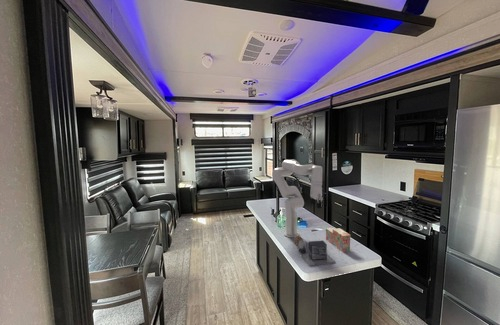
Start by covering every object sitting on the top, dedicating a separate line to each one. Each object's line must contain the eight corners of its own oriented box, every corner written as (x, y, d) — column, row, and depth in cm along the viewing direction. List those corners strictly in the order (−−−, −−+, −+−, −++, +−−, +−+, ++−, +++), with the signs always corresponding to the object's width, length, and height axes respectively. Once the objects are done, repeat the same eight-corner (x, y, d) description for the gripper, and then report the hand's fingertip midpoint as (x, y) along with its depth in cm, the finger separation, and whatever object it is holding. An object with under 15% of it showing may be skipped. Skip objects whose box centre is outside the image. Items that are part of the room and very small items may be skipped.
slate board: (301, 255, 151) (301, 254, 151) (325, 252, 154) (325, 251, 154) (309, 266, 138) (309, 264, 138) (335, 262, 142) (335, 261, 141)
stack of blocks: (325, 239, 176) (325, 224, 174) (332, 238, 177) (332, 223, 176) (342, 252, 155) (342, 235, 154) (350, 251, 156) (350, 234, 155)
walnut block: (294, 243, 170) (294, 237, 170) (300, 242, 171) (300, 236, 171) (296, 246, 165) (296, 240, 165) (303, 245, 166) (303, 239, 166)
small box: (323, 254, 150) (323, 239, 149) (327, 259, 144) (327, 244, 143) (308, 255, 150) (308, 240, 149) (311, 260, 143) (311, 245, 142)
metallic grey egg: (297, 251, 157) (297, 241, 157) (301, 249, 161) (301, 239, 160) (303, 253, 154) (303, 243, 153) (307, 251, 157) (307, 241, 157)
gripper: (306, 180, 165) (306, 202, 167) (317, 185, 148) (316, 210, 150) (316, 180, 166) (315, 202, 168) (327, 185, 149) (326, 209, 151)
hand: (316, 205), depth 159 cm, fingers open, 9 cm apart
